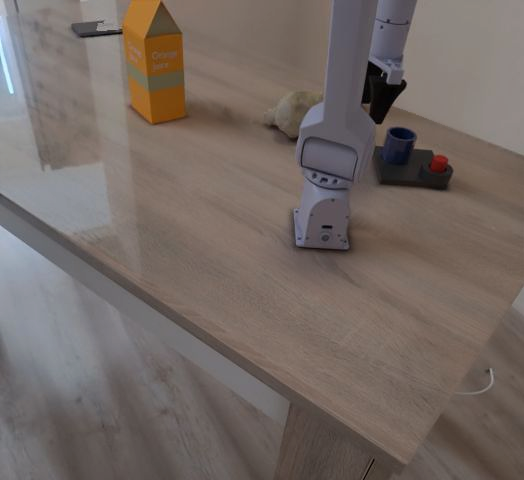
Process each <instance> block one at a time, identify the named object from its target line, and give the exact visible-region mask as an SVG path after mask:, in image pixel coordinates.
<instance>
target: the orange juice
mask: <svg viewBox="0 0 524 480" xmlns="http://www.w3.org/2000/svg"><path fill="white" fill-rule="evenodd" d="M122 31H123V32H122V37H123V45H124V55H125V65H126V71H127V78H128V87H129V94H130V101H131V102H130V103H131V107H132V108H133V109H134V110H135V111H136V112H138V113H139V114H140V115H141V116H142V117H144V119H146V120H147V121H148V122H149V123H150V124H151V125H154V124H160V123H163V122H167V121H173V120H176V119H180V118H185V117H186V116H187V115H186V91H185V90H186V89H185V85H186V84H185V82H186V81H185V67H184V45H183V32H182V31H181V29H180V28H179V26H178V24H177V22H176V21H175V20H174V18H173V16H172V15H171V13H170V12H169V10H168V7H166V5H165V3H164V1H163V0H130V3H129V5H128V8H127V11H126V13H125V15H124V20H123V23H122Z"/></svg>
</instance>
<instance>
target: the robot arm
mask: <svg viewBox="0 0 524 480" xmlns="http://www.w3.org/2000/svg"><path fill="white" fill-rule="evenodd" d="M417 3H418V0H331V10H330V21H329V32H328V42H327V43H328V45H327V53H326V54H327V57H326V67H325V76H324V77H325V78H324V89H323V92H324V99H323V102H321V103H319V104H317V105H315V106H313V107H312V108H311V109H310V110H309V111H308V113H307V114H306V116H305V117H304V119H303V121H302V123H301V126H300V131H299V136H298V137H297V138H298V139H297V142H296V145H295V152H294V153H295V161H296V164H297V166H298V167H299V168H301V173H300V174H301V176H304V177H303V184H302V189H301V190H302V191H301V197H300V203H299V208H297V207H295V208H294V209H293V222H294V223H293V224H294V235H295V245H296V247H299V248H313V249H330V250H349V249H350V244H349V238H348V233H347V231H348V226H349V223H350V220H351V219H350V218H351V216H352V215H351V203H350V201H351V197H352V193H353V189H354V184H359V183H360V182H362V181H363V180H364V179H365V177H366V175H367V173H368V171H369V168H370V165H371V162H372V160H373V159H372V156H373V153H374V148H375V146H376V134H377V129H376V126H378V125H382V124H383V123H384V122H385V119H386V117H387V115H388V113H389V111H390V109H391V108H392V107H393V105H394V103H395V102H396V100H397V98H398V97H399V96H400V95H401V94H402V93H403V92H404V91H405V90H406V89H407V86H408V82H407V81H406V80H405V79H403V76H404V74H405V70H404V67H403V66H404V65H403V64H404V56H405V55H404V50H405V47H406V44H407V39H408V36H409V32H410V29H411V25H412V21H413V19H414V14H415V11H416V6H417ZM361 104H362V105H369V109H368V113H367V112H366V110H365V109H364V108H363V106H362V107H361Z"/></svg>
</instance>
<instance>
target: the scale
mask: <svg viewBox="0 0 524 480" xmlns="http://www.w3.org/2000/svg"><path fill="white" fill-rule="evenodd" d="M382 146H383V145H381V146H380V145H375V148H374V153H373V156H372V159H371V160H372V163H373V166H374V170H375V173H376V176H377V179H378V182H379V185H383V186H384V185H385V186H397V187H409V188H411V187H412V188H425V189H437V190H438V189H439V190H446V188H447V186H448V184H449V182H450V181H451V178H452V176H453V174H454V172H455V170H454V168H453V166H452V165H450V163H447V166H446V168H445V171H444V172H436V171H433V170H432V169H430V166H431V163H432V160H433V158H434V156H435V154H434V151H433V149H422V148H414V149H413V152H412V155H411V158H410V159H409V162H408V163H406V164H402V165H396V164H391V163H388V162H386V161H385V160H383V159H382V158H381V149H382Z"/></svg>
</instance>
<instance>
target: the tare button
mask: <svg viewBox="0 0 524 480" xmlns="http://www.w3.org/2000/svg"><path fill="white" fill-rule="evenodd" d="M434 155H435V154H434ZM449 160H450V159H449V158H448V157H447V156H445V155H444V154H443V155H442V154H436V155H435V156H434V158H433V160H432V163H431V166H430V169H432V170H433V171H436V172H444V171H445V168H446V166H447V164H449Z"/></svg>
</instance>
